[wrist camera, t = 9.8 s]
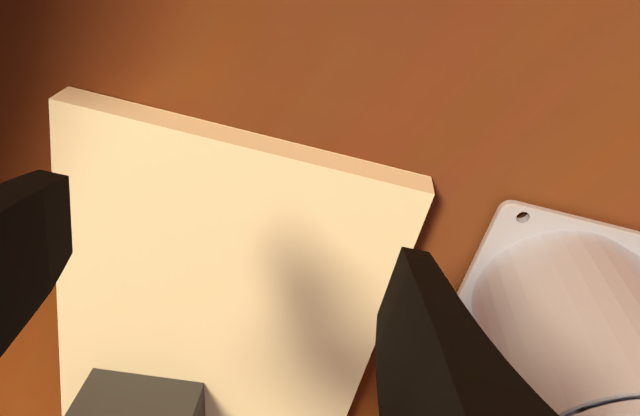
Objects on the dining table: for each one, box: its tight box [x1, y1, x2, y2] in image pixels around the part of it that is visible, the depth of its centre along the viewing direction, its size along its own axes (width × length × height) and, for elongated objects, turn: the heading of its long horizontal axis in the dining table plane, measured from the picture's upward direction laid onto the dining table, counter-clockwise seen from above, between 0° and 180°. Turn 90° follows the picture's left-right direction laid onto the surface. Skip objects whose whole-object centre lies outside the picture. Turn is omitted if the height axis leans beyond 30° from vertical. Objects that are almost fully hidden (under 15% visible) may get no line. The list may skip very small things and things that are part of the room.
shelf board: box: [49, 86, 435, 416], centre depth 25 cm, size 15×24×6 cm, turn 167°
